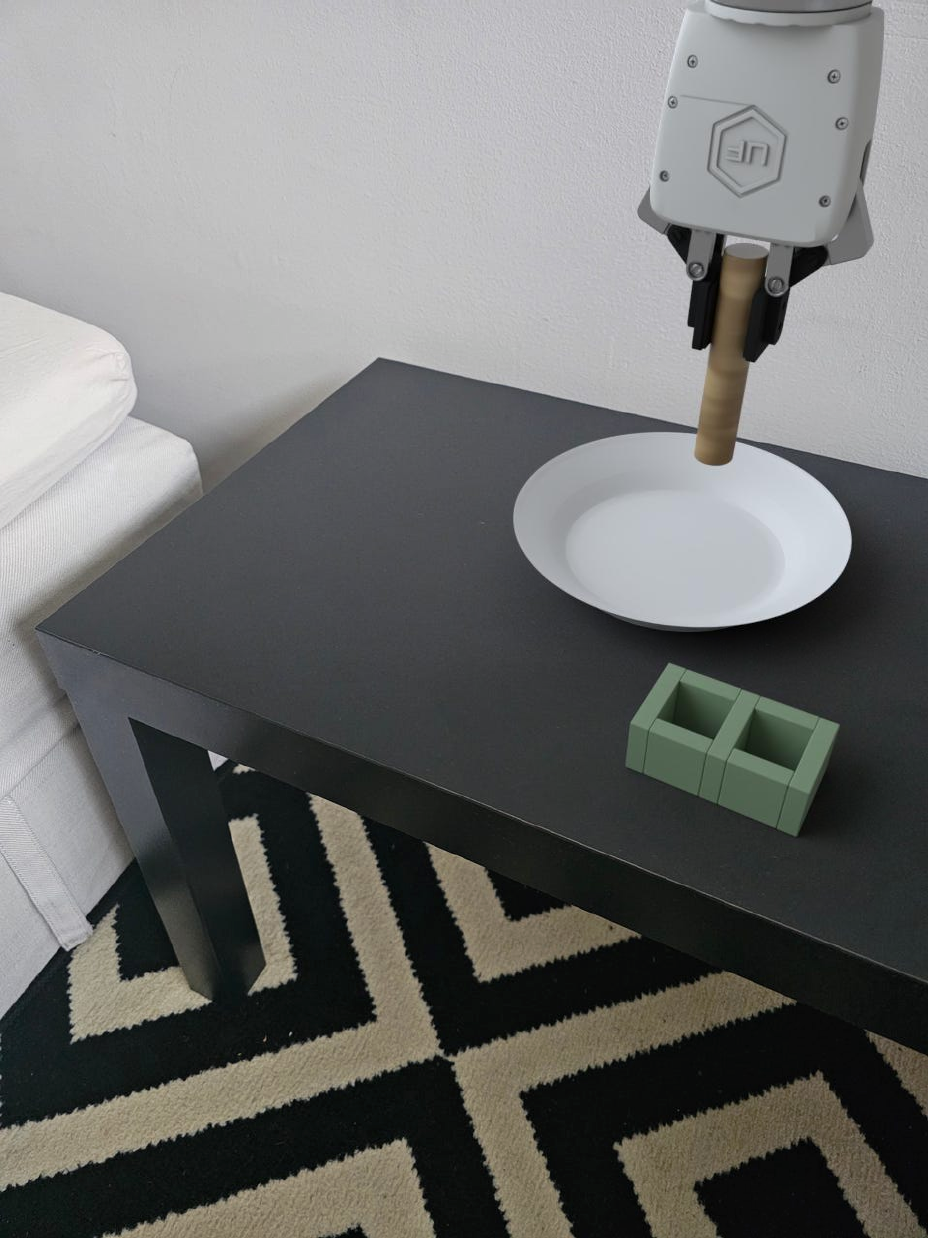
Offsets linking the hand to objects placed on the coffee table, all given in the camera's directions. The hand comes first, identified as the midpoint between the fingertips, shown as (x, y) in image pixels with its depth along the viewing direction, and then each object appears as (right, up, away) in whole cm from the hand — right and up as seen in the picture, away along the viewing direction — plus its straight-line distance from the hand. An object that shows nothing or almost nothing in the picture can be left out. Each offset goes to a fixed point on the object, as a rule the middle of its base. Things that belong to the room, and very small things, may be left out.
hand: (731, 343), depth 58 cm
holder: (+1, -25, +4) cm, 25 cm away
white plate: (+1, -11, +21) cm, 23 cm away
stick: (0, -6, +5) cm, 8 cm away
